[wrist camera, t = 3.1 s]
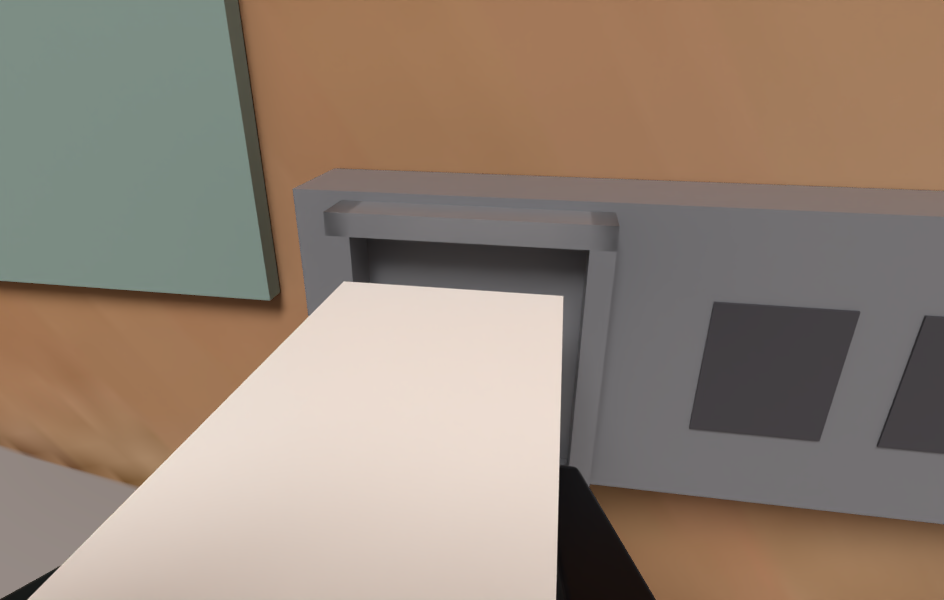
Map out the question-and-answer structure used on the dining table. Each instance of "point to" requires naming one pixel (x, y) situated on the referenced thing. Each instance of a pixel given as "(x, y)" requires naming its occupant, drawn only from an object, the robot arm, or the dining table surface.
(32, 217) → the rubber mat
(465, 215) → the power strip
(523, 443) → the charger
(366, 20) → the dining table surface
